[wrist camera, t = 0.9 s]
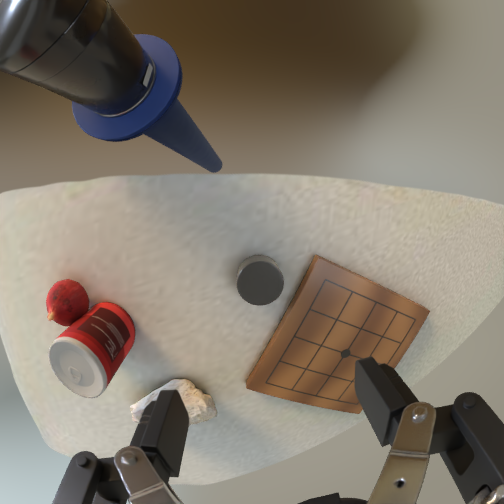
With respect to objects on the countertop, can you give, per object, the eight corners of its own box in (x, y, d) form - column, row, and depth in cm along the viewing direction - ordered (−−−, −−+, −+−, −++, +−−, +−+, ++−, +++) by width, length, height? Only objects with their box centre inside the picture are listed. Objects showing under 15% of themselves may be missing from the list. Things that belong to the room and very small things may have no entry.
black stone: (230, 285, 32) (229, 295, 29) (247, 247, 31) (248, 253, 28) (268, 301, 33) (271, 312, 30) (287, 265, 32) (291, 272, 29)
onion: (65, 267, 31) (30, 286, 23) (99, 278, 31) (67, 301, 24) (66, 305, 32) (35, 329, 24) (98, 317, 33) (70, 345, 25)
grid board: (245, 381, 35) (246, 388, 34) (315, 254, 32) (318, 257, 30) (356, 408, 38) (359, 414, 36) (425, 307, 34) (430, 311, 33)
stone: (209, 396, 40) (234, 427, 31) (147, 431, 35) (159, 469, 26) (186, 362, 39) (207, 389, 30) (120, 398, 33) (124, 435, 25)
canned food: (91, 343, 34) (55, 386, 23) (87, 294, 32) (41, 330, 21) (138, 356, 34) (109, 407, 23) (136, 306, 32) (100, 350, 22)
